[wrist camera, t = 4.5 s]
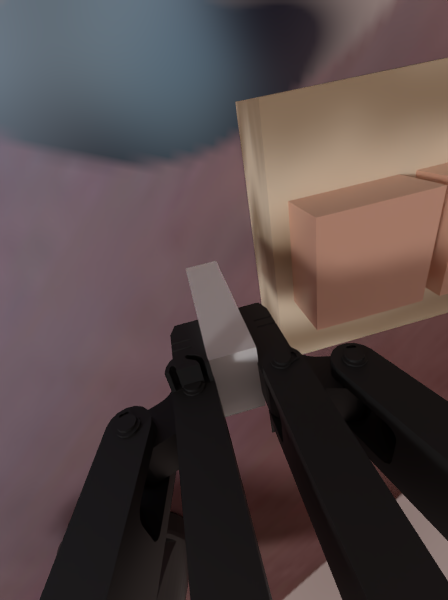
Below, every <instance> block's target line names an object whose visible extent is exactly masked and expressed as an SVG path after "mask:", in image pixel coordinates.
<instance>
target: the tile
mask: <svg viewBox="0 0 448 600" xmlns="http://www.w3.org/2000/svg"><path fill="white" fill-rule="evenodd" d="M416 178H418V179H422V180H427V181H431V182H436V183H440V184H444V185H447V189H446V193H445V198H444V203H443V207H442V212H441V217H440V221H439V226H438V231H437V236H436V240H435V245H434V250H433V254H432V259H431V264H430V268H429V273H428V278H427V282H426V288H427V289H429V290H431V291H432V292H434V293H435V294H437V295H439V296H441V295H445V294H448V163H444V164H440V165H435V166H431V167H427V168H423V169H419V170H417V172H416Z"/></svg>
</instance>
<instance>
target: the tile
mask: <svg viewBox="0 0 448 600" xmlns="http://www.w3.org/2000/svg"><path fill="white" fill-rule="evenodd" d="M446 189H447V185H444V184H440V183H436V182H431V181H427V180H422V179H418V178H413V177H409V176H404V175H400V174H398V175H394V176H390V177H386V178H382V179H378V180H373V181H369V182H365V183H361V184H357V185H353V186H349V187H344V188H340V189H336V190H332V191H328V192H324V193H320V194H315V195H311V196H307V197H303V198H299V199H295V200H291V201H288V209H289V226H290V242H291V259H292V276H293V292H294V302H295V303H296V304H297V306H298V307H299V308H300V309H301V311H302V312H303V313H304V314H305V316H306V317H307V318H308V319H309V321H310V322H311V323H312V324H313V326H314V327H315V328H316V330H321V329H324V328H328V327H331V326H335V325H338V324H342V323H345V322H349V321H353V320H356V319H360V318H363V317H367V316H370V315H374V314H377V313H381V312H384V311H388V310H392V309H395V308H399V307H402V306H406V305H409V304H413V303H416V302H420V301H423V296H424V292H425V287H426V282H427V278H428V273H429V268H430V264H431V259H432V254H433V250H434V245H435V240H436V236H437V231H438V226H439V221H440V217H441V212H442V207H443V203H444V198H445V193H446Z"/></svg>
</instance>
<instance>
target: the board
mask: <svg viewBox="0 0 448 600" xmlns="http://www.w3.org/2000/svg"><path fill="white" fill-rule="evenodd" d="M236 110H237V118H238V126H239V133H240V141H241V149H242V156H243V164H244V172H245V179H246V187H247V195H248V203H249V210H250V218H251V226H252V233H253V241H254V249H255V256H256V264H257V272H258V280H259V287H260V295H261V303H262V305H263V306H264V307H266V308H267V309H268V311H269V312H270V314H271V316H272V317H273V319H274V321H275V323H276V324H277V325H278V327H279V329H280V330H281V332H282V333H283V335H284V337H285V338H286V340H287V342H288V343H289V345H290V346H291V347H292V348H294V349H296V350H298V351H299V352H300V353H301V354H305V353H309V352H312V351H316V350H319V349H323V348H326V347H330V346H333V345H337V344H340V343H344V342H347V341H351V340H354V339H358V338H361V337H364V336H368V335H371V334H375V333H378V332H382V331H385V330H389V329H392V328H396V327H399V326H403V325H406V324H410V323H413V322H417V321H420V320H424V319H427V318H430V317H434V316H437V315H441V314H444V313H448V294H445V295H441V296H439V295H437V294H435V293H434V292H432V291H431V290H429V289H427V288H426V287H425V292H424V296H423V301H420V302H416V303H413V304H409V305H406V306H402V307H399V308H395V309H392V310H388V311H384V312H381V313H377V314H374V315H370V316H367V317H363V318H360V319H356V320H353V321H349V322H345V323H342V324H338V325H335V326H331V327H328V328H324V329H321V330H316V328H315V327H314V326H313V324H312V323H311V322H310V321H309V319H308V318H307V317H306V316H305V314H304V313H303V312H302V311H301V309H300V308H299V307H298V306H297V304H296V303H295V302H294V292H293V276H292V259H291V242H290V226H289V209H288V201H291V200H295V199H299V198H303V197H307V196H311V195H315V194H320V193H324V192H328V191H332V190H336V189H340V188H344V187H349V186H353V185H357V184H361V183H365V182H369V181H373V180H378V179H382V178H386V177H390V176H394V175H398V174H400V175H404V176H409V177H413V178H416V172H417V170H419V169H423V168H427V167H431V166H435V165H440V164H444V163H448V58H443V59H438V60H433V61H429V62H424V63H419V64H414V65H410V66H405V67H400V68H395V69H390V70H386V71H381V72H376V73H371V74H367V75H362V76H357V77H352V78H347V79H343V80H338V81H333V82H328V83H324V84H319V85H314V86H309V87H304V88H300V89H295V90H290V91H285V92H281V93H276V94H271V95H267V96H261V97H257V98H252V99H248V100H242V101H238V102H236Z"/></svg>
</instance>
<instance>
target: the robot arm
mask: <svg viewBox="0 0 448 600" xmlns="http://www.w3.org/2000/svg"><path fill="white" fill-rule="evenodd" d="M186 272H187V276H188V280H189V284H190V288H191V293H192V297H193V301H194V305H195V309H196V313H197V317H198V320H195V321H191V322H188V323H184V324H180V325H177V326H174V329H173V331H172V333H171V335H170V336H171V345H172V356H173V359H172V360H171V361H170V362H169V364H168V365H167V367H166V370H165V376H166V378H167V381H168V383H169V386H170V388H171V393H170V395H169V396H168V397H167V398H166V399H165V400H163V401H162V402H161V403H159V404H158V405H156V406H154V407H152V408H151V409H149V410H147V409H146V408H144V407H140V406H133V407H129V408H126V409H124V410H122V411H121V412H119V413H117V414H116V415H115V416H114V417H113V418H112V419H111V421H110V422H109V424H108V426H107V427H106V430H105V432H104V435H103V437H102V440H101V443H100V445H99V448H98V450H97V453H96V455H95V458H94V461H93V463H92V466H91V468H90V471H89V474H88V476H87V479H86V481H85V484H84V486H83V489H82V492H81V494H80V497H79V499H78V502H77V504H76V507H75V510H74V512H73V515H72V517H71V520H70V523H69V525H68V528H67V530H66V533H65V535H64V538H63V541H62V542H61V544H60V546H59V548H58V551H57V556H56V559H55V561H54V564H53V566H52V569H51V572H50V574H49V577H48V579H47V582H46V584H45V587H44V590H43V592H42V595H41V597H40V600H186V594H187V588H188V581H189V587H190V598H191V600H272V597H271V593H270V589H269V585H268V581H267V577H266V574H265V570H264V566H263V562H262V558H261V554H260V550H259V546H258V543H257V539H256V535H255V531H254V527H253V523H252V519H251V515H250V511H249V508H248V504H247V500H246V496H245V492H244V488H243V484H242V480H241V477H240V473H239V469H238V465H237V461H236V457H235V453H234V449H233V445H232V442H231V438H230V434H229V430H228V427H227V423H226V419H225V417H228V416H231V415H234V414H238V413H241V412H244V411H248V410H251V409H254V408H257V407H261V406H264V405H265V401H266V403H267V406H268V408H269V414H270V420H271V427H272V433H273V432H276V434H277V437H278V439H279V442H280V444H281V447H282V449H283V452H284V454H285V457H286V459H287V462H288V464H289V467H290V469H291V472H292V474H293V477H294V479H295V482H296V484H297V487H298V489H299V492H300V494H301V497H302V499H303V502H304V504H305V507H306V509H307V512H308V514H309V517H310V520H311V522H312V525H313V527H314V530H315V532H316V535H317V537H318V540H319V542H320V545H321V547H322V550H323V552H324V555H325V557H326V560H327V562H328V565H329V567H330V570H331V572H332V574H333V577H334V579H335V582H336V585H337V587H338V590H339V592H340V595H341V597H342V600H448V581H447V579H446V577H445V576H444V574H443V573H442V571H441V570H440V568H439V567H438V565H437V563H436V562H435V560H434V559H433V558H432V556H431V554H430V553H429V551H428V550H427V548H426V546H425V545H424V543H423V542H422V540H421V539H420V537H419V536H418V534H417V532H416V531H415V529H414V528H413V526H412V525H411V523H410V521H409V520H408V518H407V517H406V515H405V514H404V512H403V511H402V509H401V507H400V506H399V504H398V503H397V501H396V500H395V498H394V497H393V495H392V493H391V492H390V490H389V489H388V487H387V486H386V484H385V482H384V481H383V479H382V478H381V476H380V475H379V473H378V472H377V470H376V468H375V467H374V465H373V464H372V462H373V463H374V464H375V465H376V466H377V467H378V468H379V469H380V471H381V472H382V473H383V474H384V475H385V476H386V477H387V478H388V479H389V480H390V481H391V482H392V483H393V484H394V485H395V486H396V487H397V488H398V489H399V490H400V491H401V492H402V494H403V495H404V496H405V497H406V498H407V499H408V500H409V501H410V502H411V503H412V504H413V505H414V506H415V507H416V508H417V509H418V510H419V511H420V512H421V513H422V514H423V515H424V516H425V518H426V519H427V520H428V521H430V523H431V524H432V525H433V526H434V527H435V528H436V529H437V530H438V531H439V532H440V533H441V534H442V535H443V536H444V537H445V538H446V539H447V541H448V401H446V400H445V399H443V398H442V397H441V396H439V395H438V394H436V393H435V392H433V391H432V390H430V389H429V388H427V387H426V386H424V385H423V384H422V383H420V382H419V381H417V380H416V379H414V378H413V377H411V376H410V375H408V374H407V373H405V372H404V371H403V370H401V369H400V368H398V367H397V366H395V365H394V364H392V363H391V362H389V361H388V360H386V359H385V358H384V357H382V356H381V355H379V354H378V353H376V352H375V351H373V350H372V349H370V348H368V347H366V346H364V345H361V344H356V343H345V344H342V345H339V346H337V347H336V348H335V349H334V350H333V351H332V354H331V356H325V357H311V356H306V355H302V354H301V353H300V352H299V351H298V350H296V349H294V348H292V347H291V346H290V345H289V343H288V342H287V340H286V338H285V337H284V335H283V333H282V332H281V330H280V329H279V327H278V325H277V324H276V323H275V321H274V319H273V317H272V316H271V314H270V312H269V311H268V309H267V308H266V307H264V306H263V305H261V304H259V303H254V304H251V305H247V306H243V307H240V308H238V307H237V305H236V303H235V301H234V299H233V296H232V294H231V292H230V290H229V288H228V286H227V284H226V281H225V279H224V277H223V275H222V273H221V271H220V269H219V266H218V264H217V262H216V261H214V262H210V263H206V264H202V265H198V266H194V267H190V268H186ZM264 398H265V399H264ZM370 460H371V461H372V462H371V461H370ZM177 470H179V474H180V485H181V496H182V508H183V518H182V517H181V516H179V515H177V514H174V513H171V512H170V508H171V502H172V495H173V489H174V482H175V476H176V471H177Z"/></svg>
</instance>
